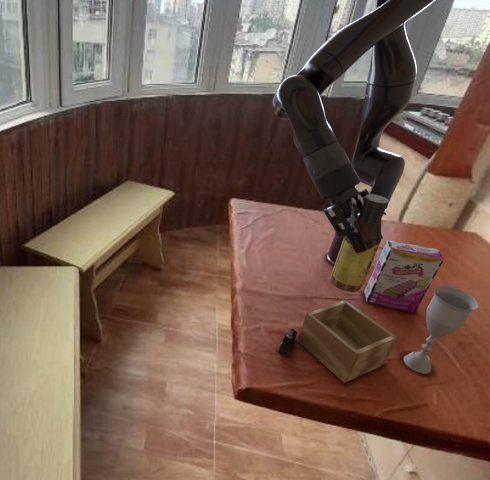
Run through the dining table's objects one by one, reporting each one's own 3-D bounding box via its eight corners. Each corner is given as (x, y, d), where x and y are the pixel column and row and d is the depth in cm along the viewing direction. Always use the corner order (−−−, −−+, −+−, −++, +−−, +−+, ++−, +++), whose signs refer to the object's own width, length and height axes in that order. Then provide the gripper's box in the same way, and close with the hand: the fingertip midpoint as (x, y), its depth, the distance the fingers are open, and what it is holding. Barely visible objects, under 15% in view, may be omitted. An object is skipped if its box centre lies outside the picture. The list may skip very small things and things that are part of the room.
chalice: (391, 351, 90) (425, 285, 81) (420, 350, 91) (457, 284, 82) (413, 378, 84) (453, 310, 75) (444, 377, 85) (488, 309, 75)
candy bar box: (366, 303, 104) (389, 248, 96) (363, 292, 108) (385, 238, 100) (416, 314, 101) (445, 259, 93) (411, 302, 105) (438, 248, 97)
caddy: (334, 326, 97) (344, 299, 92) (383, 365, 87) (397, 337, 83) (297, 340, 92) (306, 313, 88) (344, 383, 82) (357, 354, 78)
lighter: (280, 348, 93) (289, 326, 93) (290, 352, 92) (298, 330, 92) (274, 351, 86) (284, 328, 86) (284, 356, 85) (294, 333, 85)
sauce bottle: (364, 296, 84) (403, 209, 74) (332, 290, 85) (365, 204, 75) (356, 277, 90) (391, 194, 79) (326, 272, 91) (356, 190, 80)
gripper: (329, 169, 75) (373, 252, 74) (364, 154, 84) (404, 229, 82) (295, 186, 82) (335, 263, 80) (331, 171, 90) (368, 240, 88)
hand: (370, 245), depth 81 cm, fingers closed on sauce bottle, 6 cm apart
